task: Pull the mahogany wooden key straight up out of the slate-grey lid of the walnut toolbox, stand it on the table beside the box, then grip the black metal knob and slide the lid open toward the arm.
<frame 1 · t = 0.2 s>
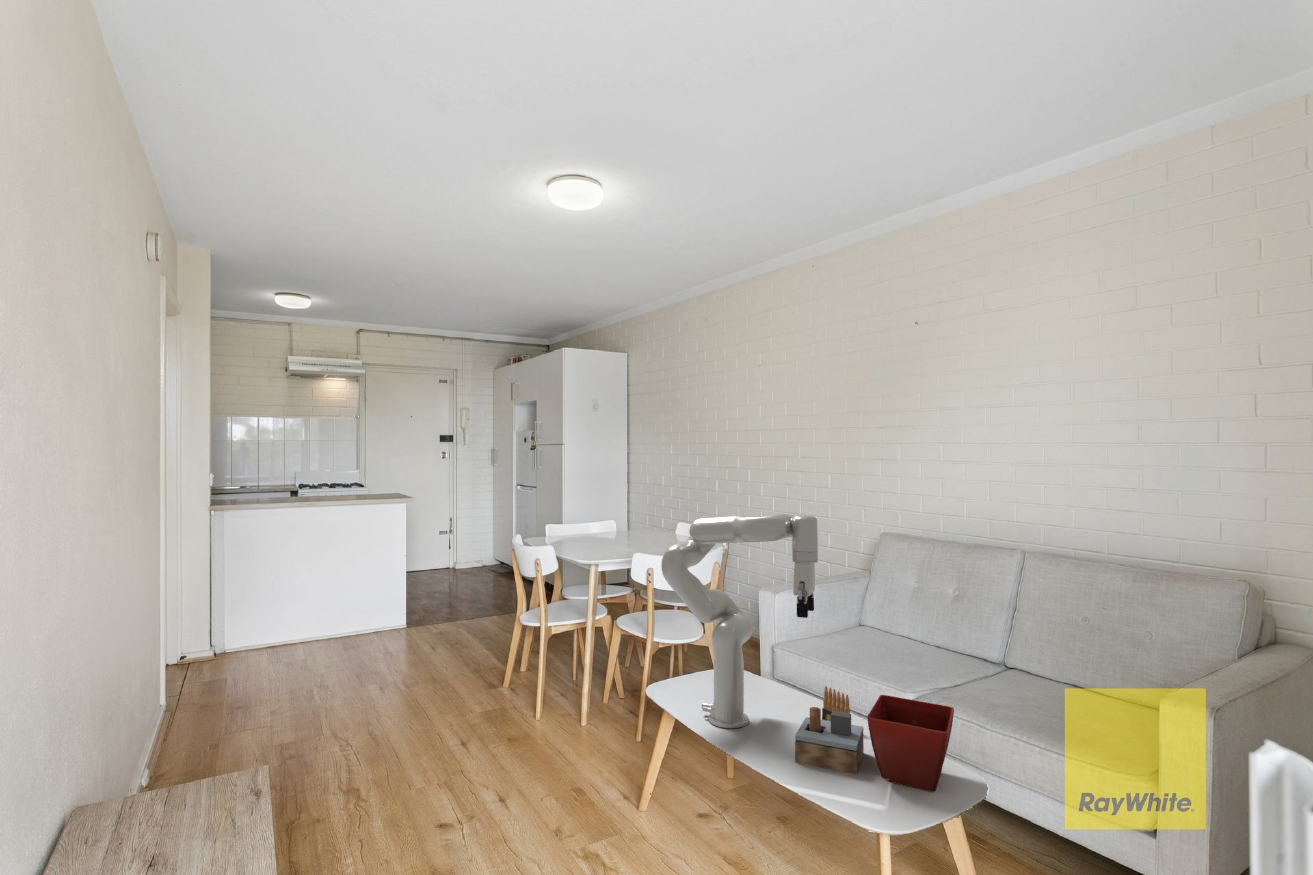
hand: (805, 613, 200), 36 cm above the table, tool pointing down, fingers open, 9 cm apart
wooden key: (815, 754, 184), point 1 cm above the table, touching walnut toolbox
plant pot: (911, 777, 173), on the table
walnut toolbox: (829, 761, 182), on the table
toolbox lid: (829, 723, 182), point 10 cm above the table, slide at 0.0 cm
ammunition clip: (836, 730, 204), on the table
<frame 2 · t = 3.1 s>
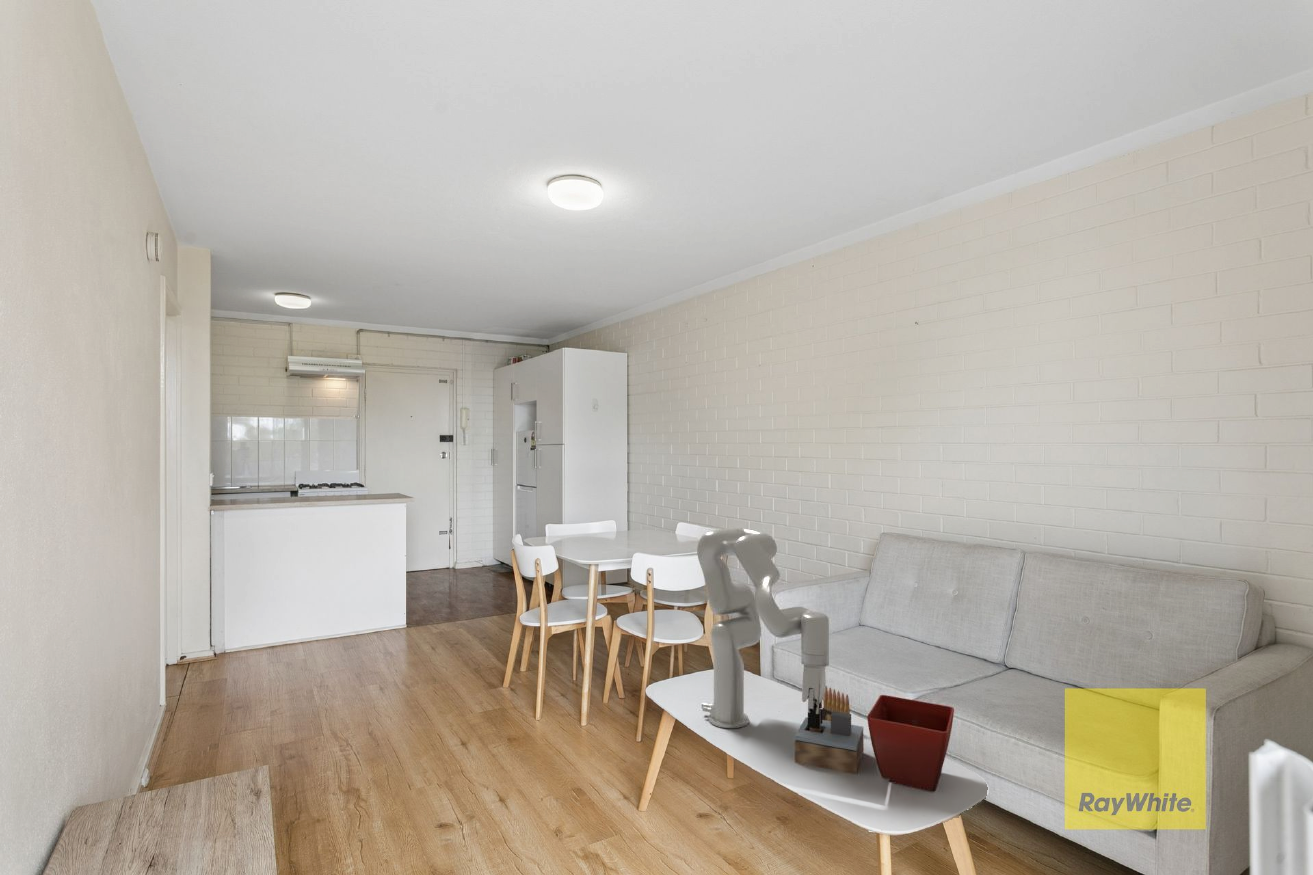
hand: (815, 724, 184), 9 cm above the table, tool pointing down, fingers closed on wooden key, 3 cm apart
wooden key: (815, 754, 184), point 1 cm above the table, touching gripper, walnut toolbox
everything else where it was.
when the fingers open (10 cm above the table, at t = 9.0 s): wooden key drops 1 cm, on the table.
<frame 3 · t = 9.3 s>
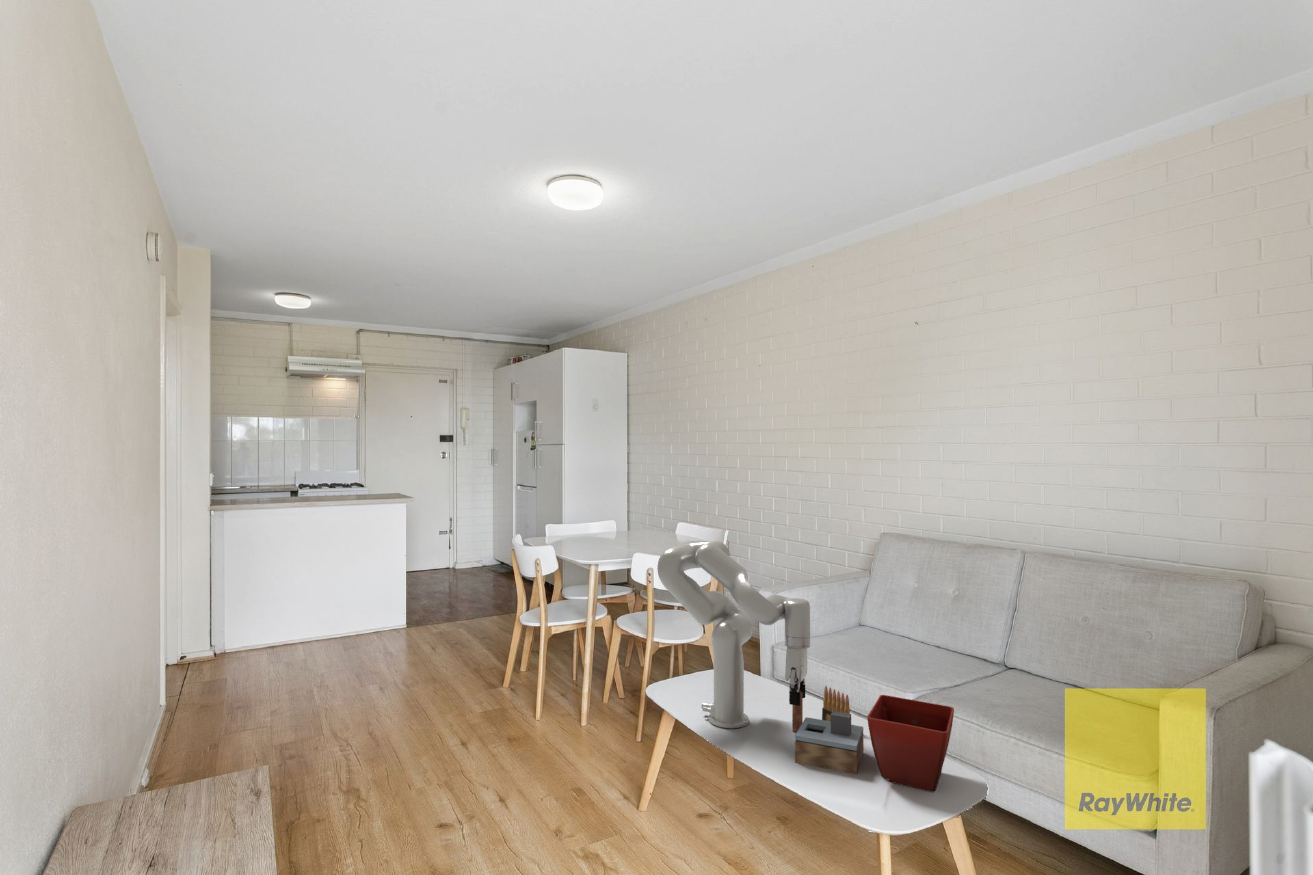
hand: (797, 700, 200), 10 cm above the table, tool pointing down, fingers open, 6 cm apart
wooden key: (797, 734, 200), on the table
everything else where it was.
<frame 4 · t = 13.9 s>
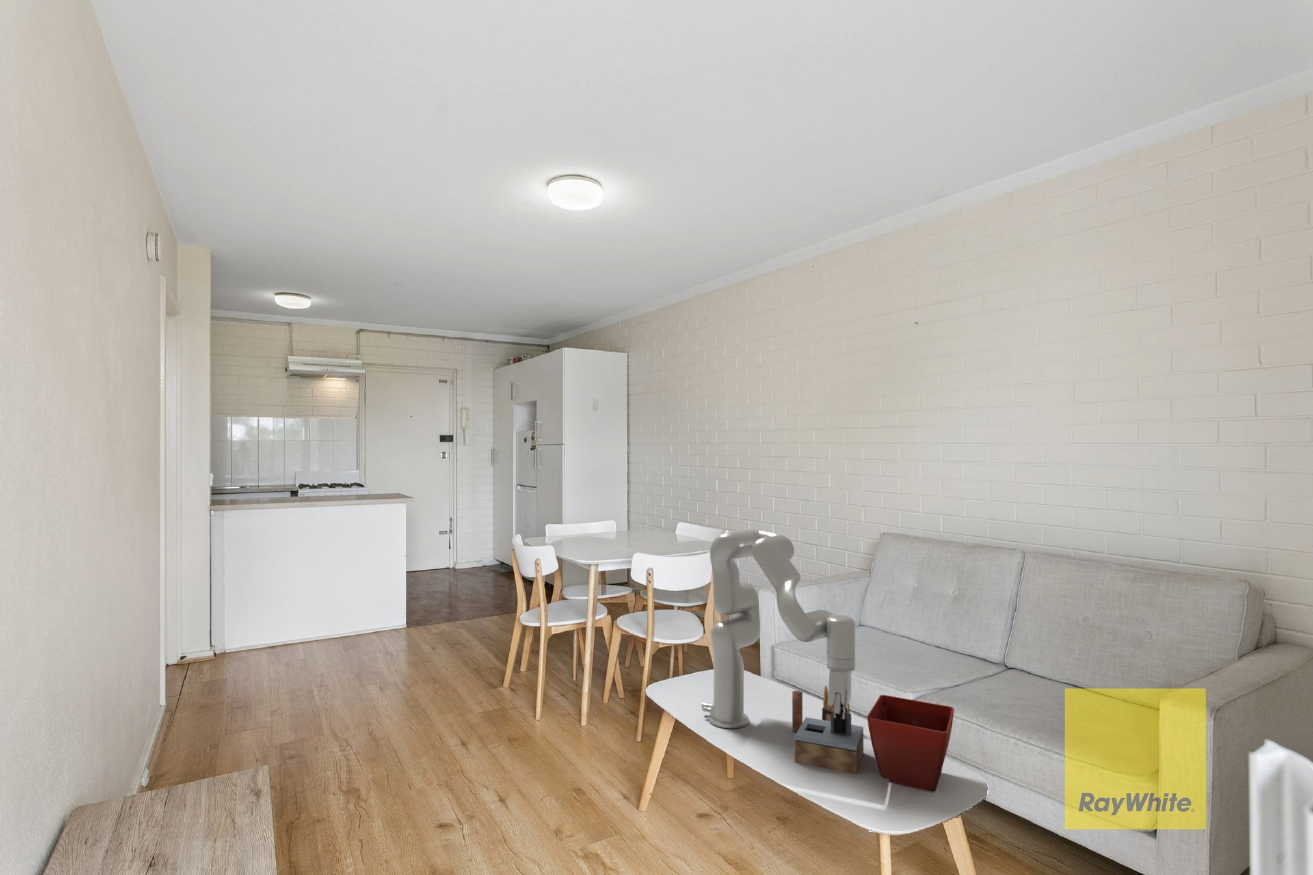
hand: (841, 729, 181), 9 cm above the table, tool pointing down, fingers closed on toolbox lid, 3 cm apart
toolbox lid: (829, 723, 182), point 10 cm above the table, slide at 0.0 cm, touching gripper
everything else where it was.
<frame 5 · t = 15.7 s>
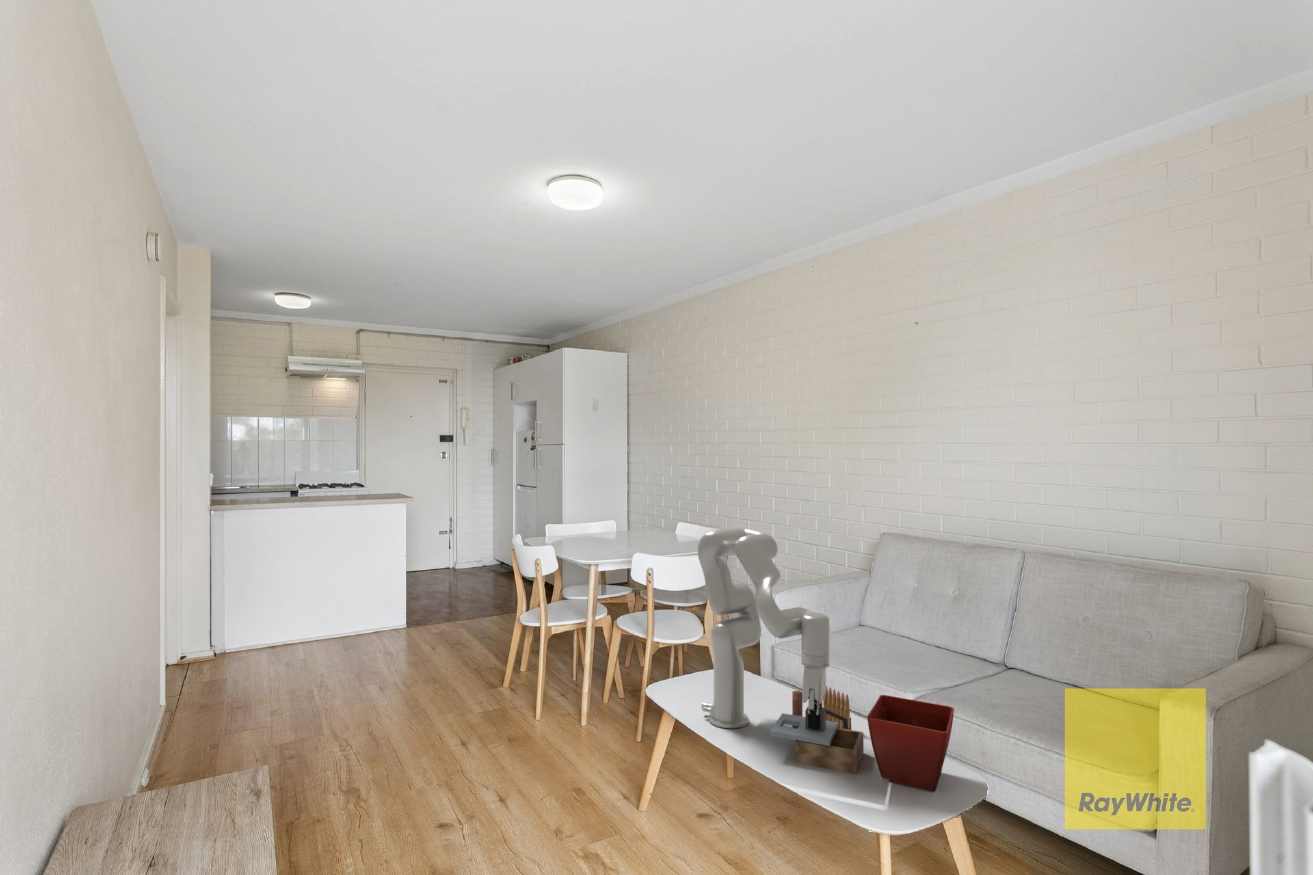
hand: (815, 725, 184), 9 cm above the table, tool pointing down, fingers closed on toolbox lid, 3 cm apart
toolbox lid: (804, 719, 185), point 10 cm above the table, slide at 6.9 cm, touching gripper
everything else where it was.
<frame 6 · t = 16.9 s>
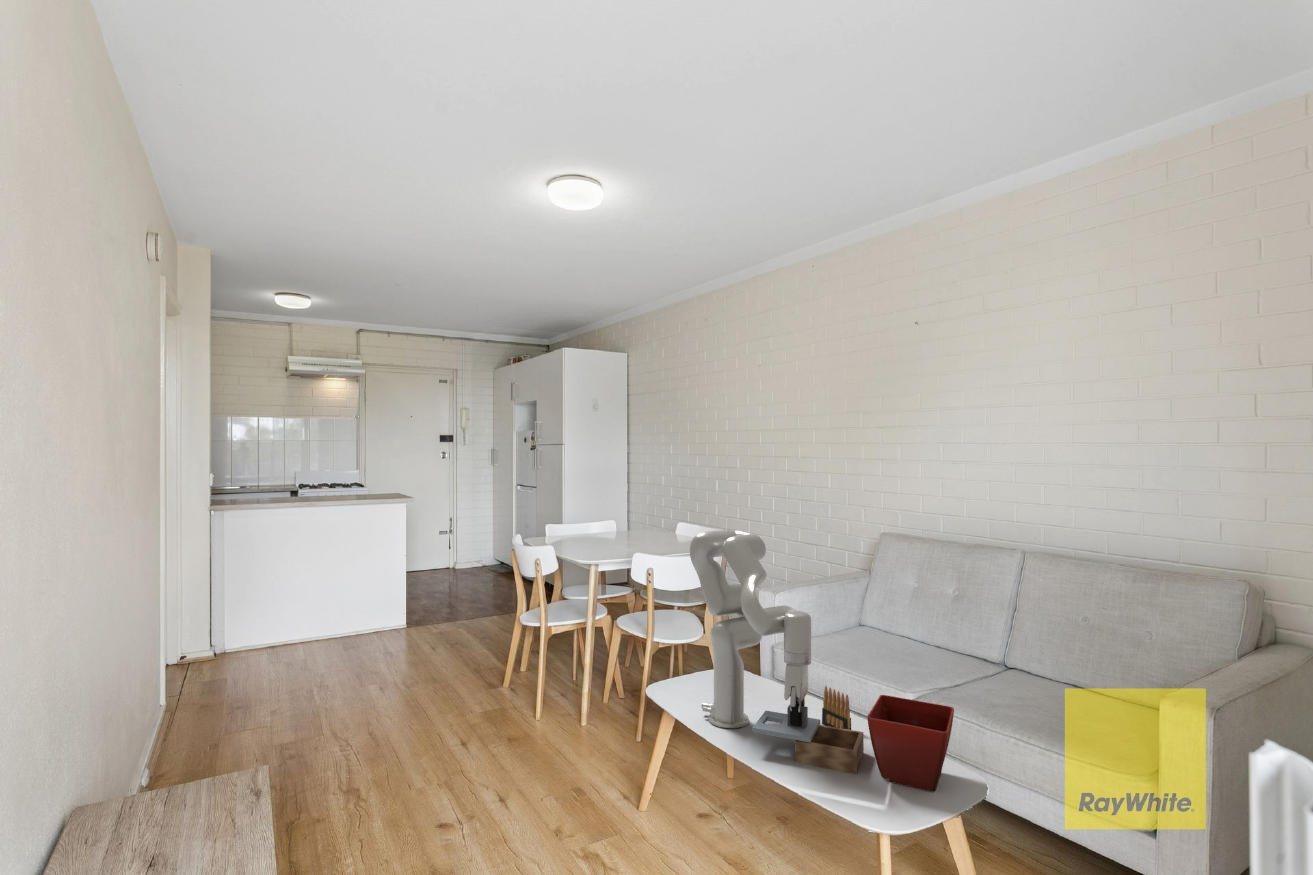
hand: (797, 722, 186), 9 cm above the table, tool pointing down, fingers closed on toolbox lid, 3 cm apart
toolbox lid: (786, 716, 187), point 10 cm above the table, slide at 11.9 cm, touching gripper
everything else where it was.
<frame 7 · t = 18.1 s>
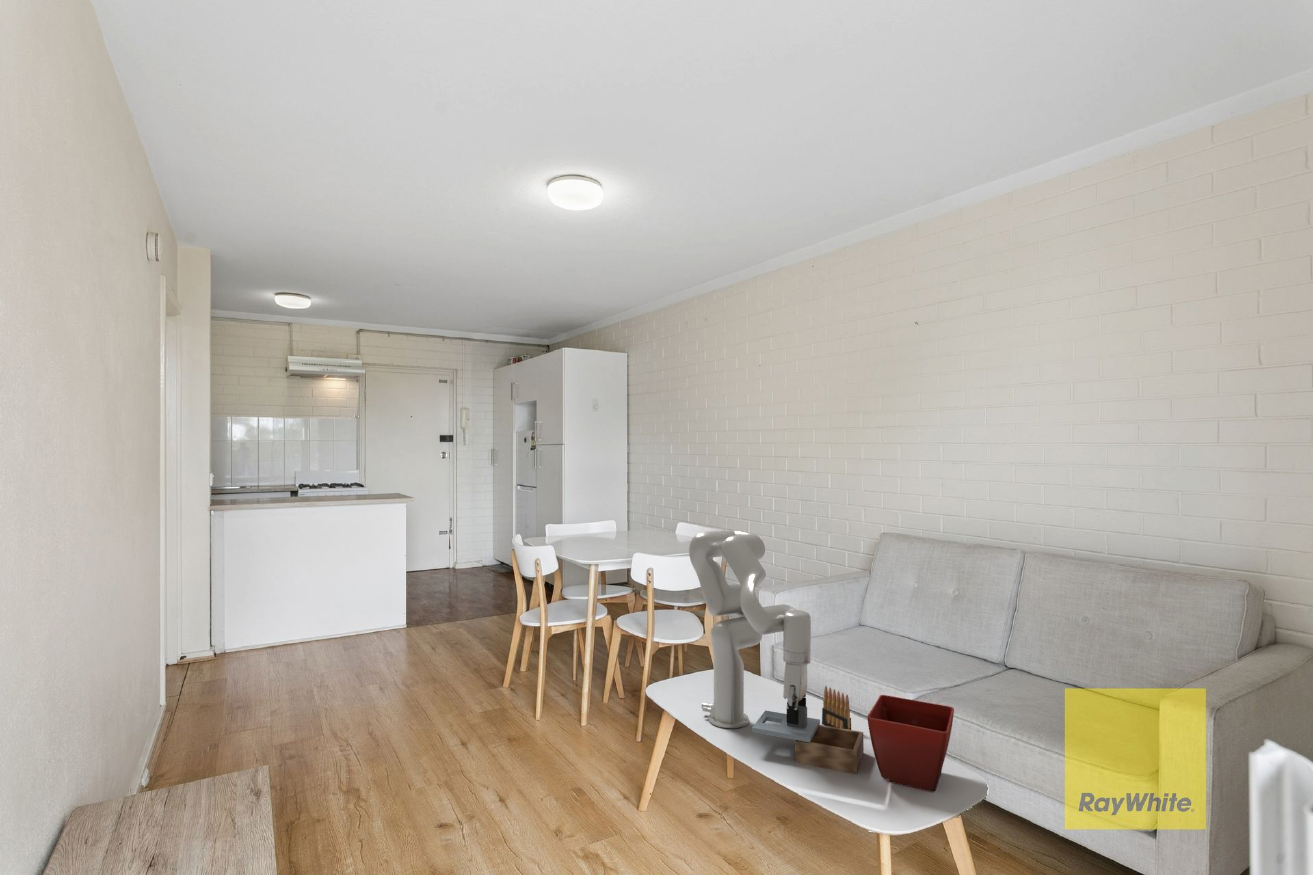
hand: (796, 717, 186), 10 cm above the table, tool pointing down, fingers open, 9 cm apart
toolbox lid: (786, 716, 187), point 10 cm above the table, slide at 12.0 cm
everything else where it was.
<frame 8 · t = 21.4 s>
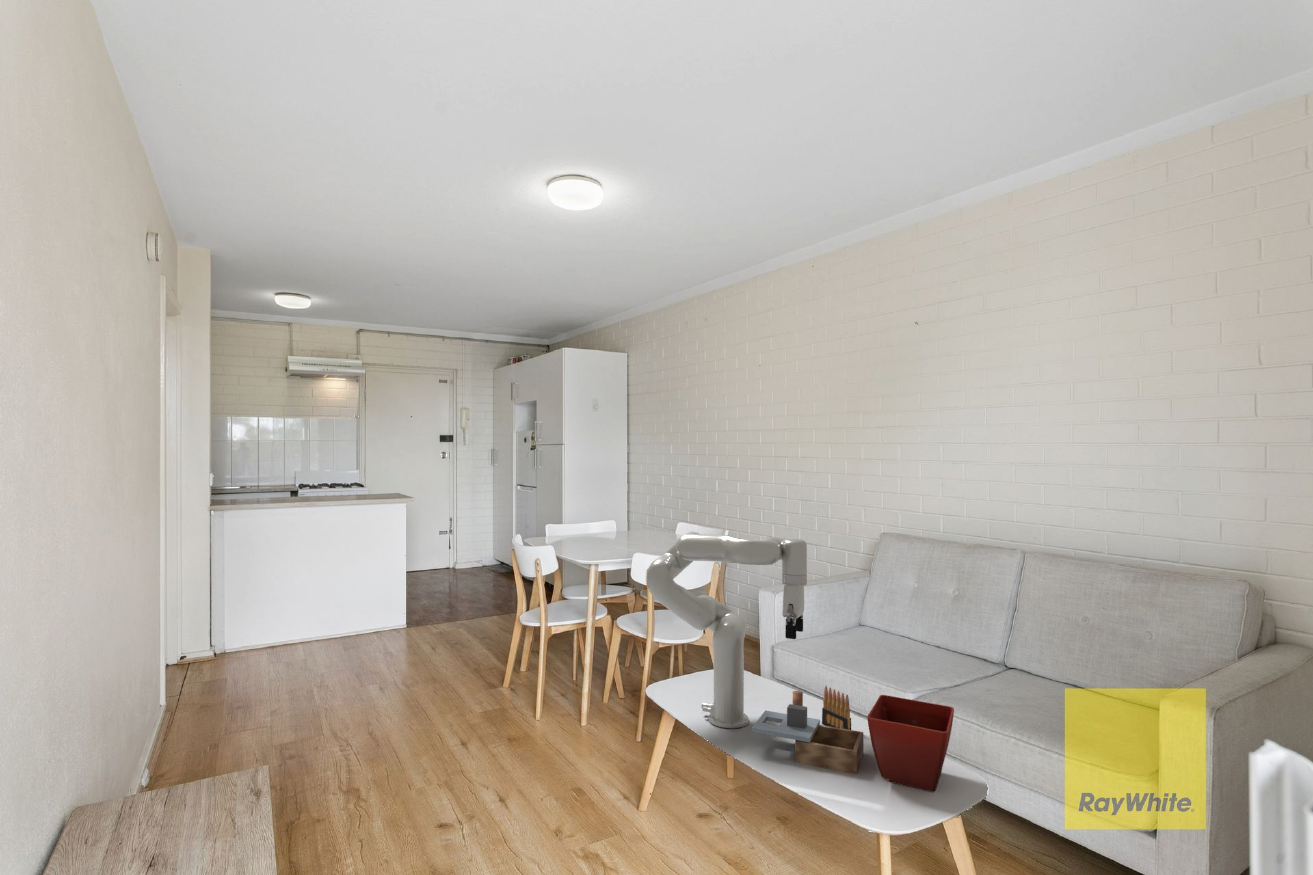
hand: (794, 634, 206), 28 cm above the table, tool pointing down, fingers open, 9 cm apart
nothing on the table moved.
at the end: toolbox lid slide at 12.0 cm; wooden key inside the target area (1.5 cm from its centre), on the table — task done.
